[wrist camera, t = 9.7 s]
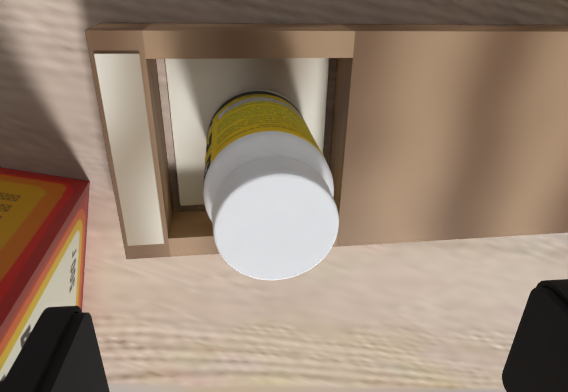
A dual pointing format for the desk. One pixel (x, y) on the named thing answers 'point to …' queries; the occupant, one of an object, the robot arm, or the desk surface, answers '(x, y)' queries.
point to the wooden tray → (347, 124)
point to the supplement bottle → (267, 187)
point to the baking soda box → (38, 252)
